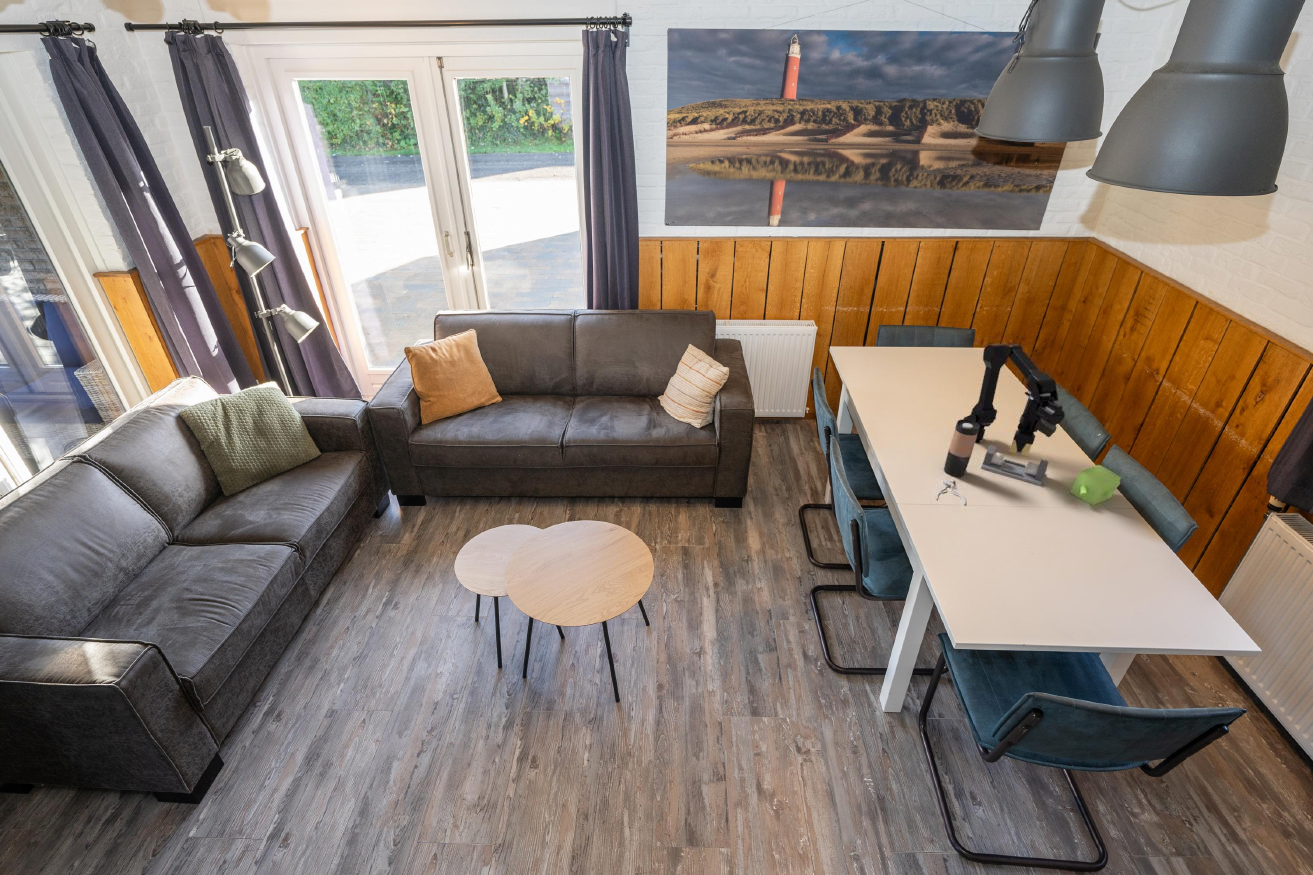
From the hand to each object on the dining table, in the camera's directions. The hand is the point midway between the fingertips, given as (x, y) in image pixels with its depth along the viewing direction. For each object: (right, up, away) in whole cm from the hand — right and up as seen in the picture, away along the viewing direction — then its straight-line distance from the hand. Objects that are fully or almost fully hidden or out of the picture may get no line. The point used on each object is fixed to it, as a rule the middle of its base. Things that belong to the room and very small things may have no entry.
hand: (1019, 448), depth 241 cm
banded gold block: (0, -1, 0) cm, 1 cm away
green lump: (+20, -17, -9) cm, 28 cm away
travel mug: (-22, -9, +3) cm, 24 cm away
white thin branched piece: (-29, -15, -7) cm, 33 cm away
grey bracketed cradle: (0, -8, +5) cm, 10 cm away
